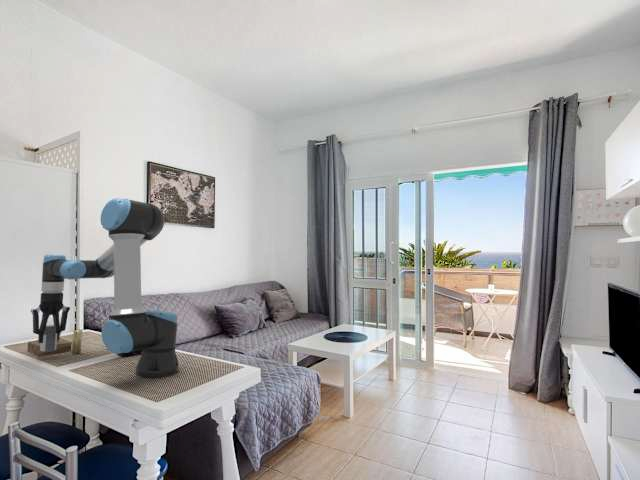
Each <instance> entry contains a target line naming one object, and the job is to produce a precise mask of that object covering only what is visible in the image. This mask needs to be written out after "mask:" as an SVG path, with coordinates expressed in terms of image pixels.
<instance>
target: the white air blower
mask: <svg viewBox="0 0 640 480" xmlns="http://www.w3.org/2000/svg"><path fill="white" fill-rule="evenodd" d="M61 317H62V316H61V315H60V314H59V323H61ZM49 325H54V321H53V316H52V315H49V318H48V321H47V325H46V326H49ZM62 332H63V331H62ZM62 332H61V333H60V336H61V335H62V334H63V333H62Z"/></svg>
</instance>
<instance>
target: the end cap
mask: <svg viewBox="0 0 640 480" xmlns="http://www.w3.org/2000/svg"><path fill="white" fill-rule="evenodd" d="M142 350H143V349H139V350H134V351H131V352H128V353H120V354H116V356H118V357H125V356H132V355H138V354H142Z"/></svg>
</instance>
